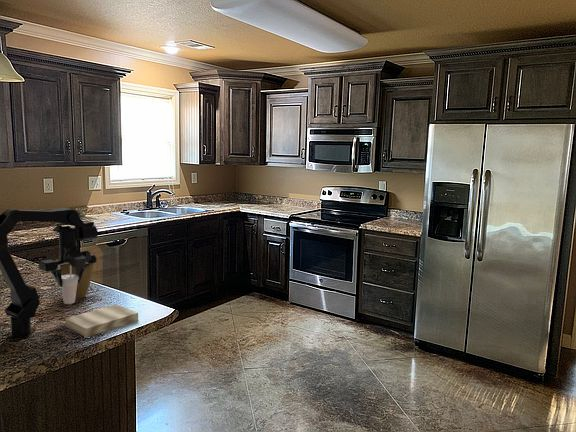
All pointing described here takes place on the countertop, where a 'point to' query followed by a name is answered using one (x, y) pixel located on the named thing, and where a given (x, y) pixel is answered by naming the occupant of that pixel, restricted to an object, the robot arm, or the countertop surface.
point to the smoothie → (69, 287)
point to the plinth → (101, 320)
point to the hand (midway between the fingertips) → (69, 284)
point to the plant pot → (85, 278)
